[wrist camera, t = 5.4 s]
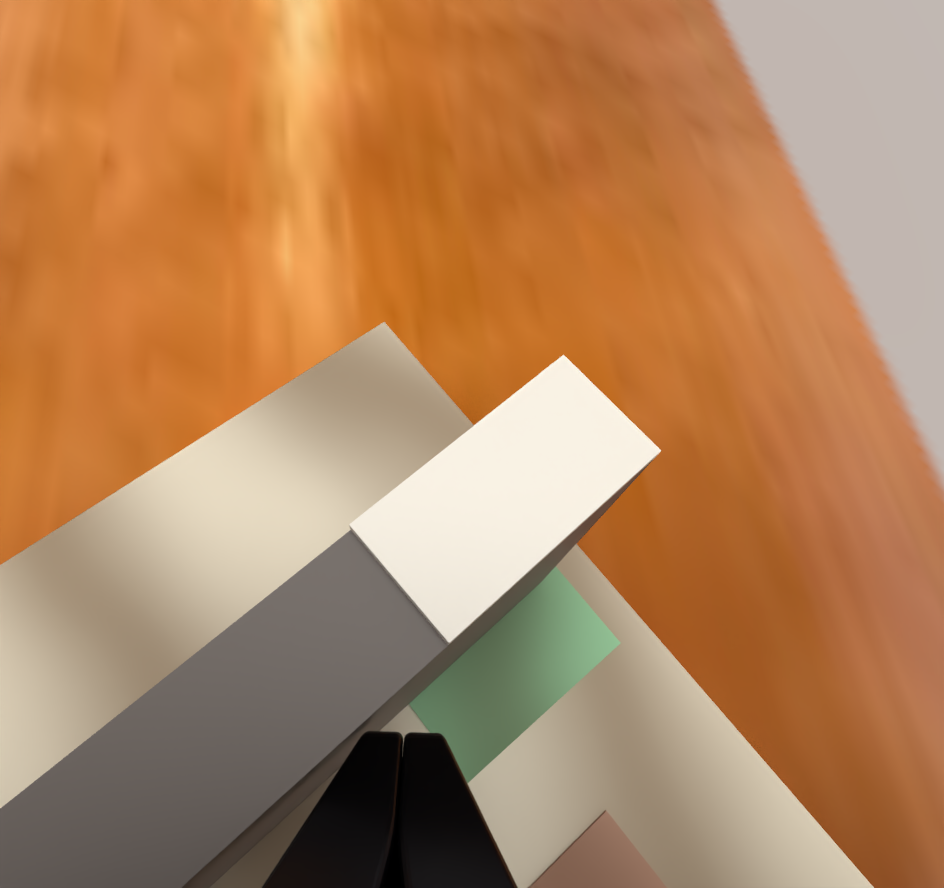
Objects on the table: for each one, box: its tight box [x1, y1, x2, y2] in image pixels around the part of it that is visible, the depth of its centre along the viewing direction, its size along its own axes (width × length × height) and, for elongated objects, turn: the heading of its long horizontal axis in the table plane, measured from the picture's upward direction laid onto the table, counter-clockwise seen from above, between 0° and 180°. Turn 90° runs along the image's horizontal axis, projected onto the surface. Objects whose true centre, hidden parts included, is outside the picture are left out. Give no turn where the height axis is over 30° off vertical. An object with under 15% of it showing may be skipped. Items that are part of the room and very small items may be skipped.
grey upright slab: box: [0, 355, 661, 888], centre depth 9 cm, size 12×2×8 cm, turn 132°
